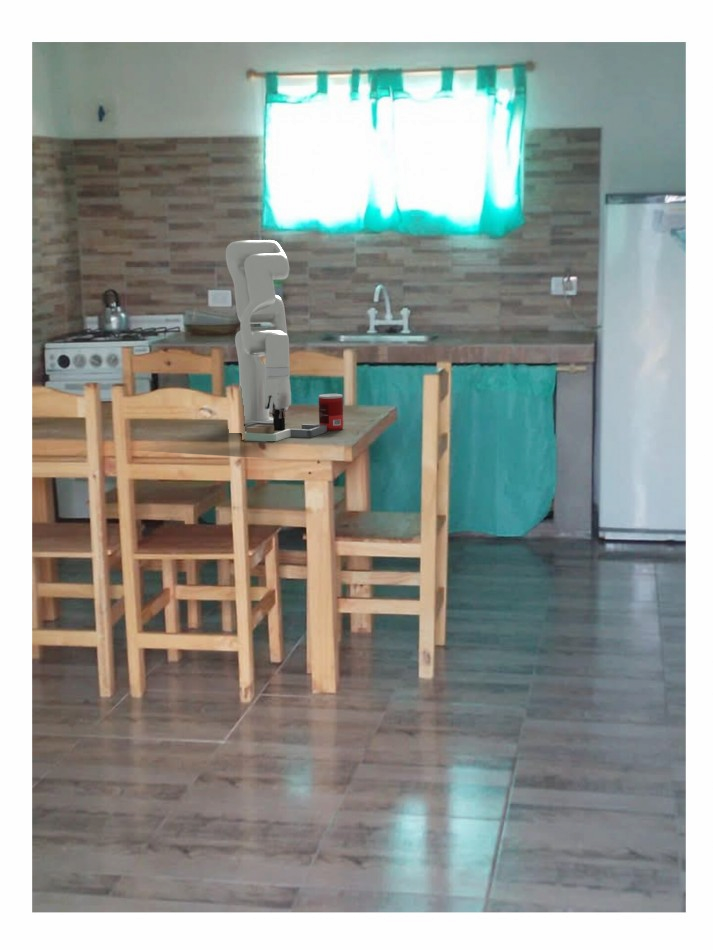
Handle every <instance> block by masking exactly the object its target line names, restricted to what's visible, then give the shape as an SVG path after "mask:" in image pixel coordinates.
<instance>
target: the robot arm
mask: <svg viewBox="0 0 713 950" xmlns="http://www.w3.org/2000/svg"><path fill="white" fill-rule="evenodd" d="M225 261H226V262H225V263H226V265H227V269H228V272H229V275H230V276H231V279H232V282H233V289H234V298H235V309H236V316H237V318H238V321H239V323H240V330H239V331H237V332H236V334H235V337H234V341H235V348H236V354H237V361H238V373H239V374H238V377H239V379H238V380H239V387H240V386H241V388H242V398H243V405H244V416H245V424H244V425H247V424H251V423H254V422H271V423H274V432H275V431H276V432H280V431H283V430H286V426H285V425H286V422H285V419H286V412H287V411H288V410H289V406H291V404H292V391H291V389H292V388H291V379H290V377H291V369H290V368H291V367H290V365H291V364H290V338H289V335H288V329H287V320H286V308H285V305H284V301H283V299H282V297H280V296H279V295H277V294H276V290H275V283H274V281H275V280H286V279H287V278H288V277H289V274H290V263H289V259H288V256H287V255H286V252H285V251H284V249H283V248H282V247H281V245H280V244H279V242H277V241H275V240H271V239H268V240H267V239H266V240H265V239H263V240H262V239H261V240H260V239H259V240H256V239H255V240H254V239H253V240H251V239H249V240H246V239H245V240H238V241H236V240H235V241H233V242H230V243H229V244H228V245H227V247H226V250H225ZM256 324H269V325H270V326H260V327H259V326H258V327H256V326H254V327H252V326H251V325H256ZM261 357H264V360H265V361H264V362H265V363H264V362H263V360H261ZM270 415H272V416H270Z"/></svg>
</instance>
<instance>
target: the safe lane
mask: <svg viewBox="0 0 713 950" xmlns="http://www.w3.org/2000/svg"><path fill="white" fill-rule="evenodd" d="M291 429H292V428H285V430H283V431H276V432H274V434H263V433H246V432H245V437H246V440H245V441H247V442H249V441H250V442H251V441H253V442H266V441H275V442H278V441H282V440H284V439H286V438H290V437H292V436H291Z"/></svg>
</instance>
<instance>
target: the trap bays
mask: <svg viewBox="0 0 713 950" xmlns="http://www.w3.org/2000/svg"><path fill="white" fill-rule="evenodd" d="M244 425H245V431H246V428H247V427H250V426H254V425H274V423H273V422H272V423H271V422H254V423H251V424H244ZM290 429H291V436H290V437H293V438H294V437H297V438H313V437H316V436H320V435H321V434H324V433H327V432H328V431H327V425H319V424H311V423H308V424H307V423H301V428H290Z"/></svg>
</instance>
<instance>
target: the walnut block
mask: <svg viewBox="0 0 713 950" xmlns="http://www.w3.org/2000/svg"><path fill="white" fill-rule="evenodd" d="M246 433H263V434H274V433H275V431H274V425H254V426H250V427H247V428H246Z"/></svg>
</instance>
